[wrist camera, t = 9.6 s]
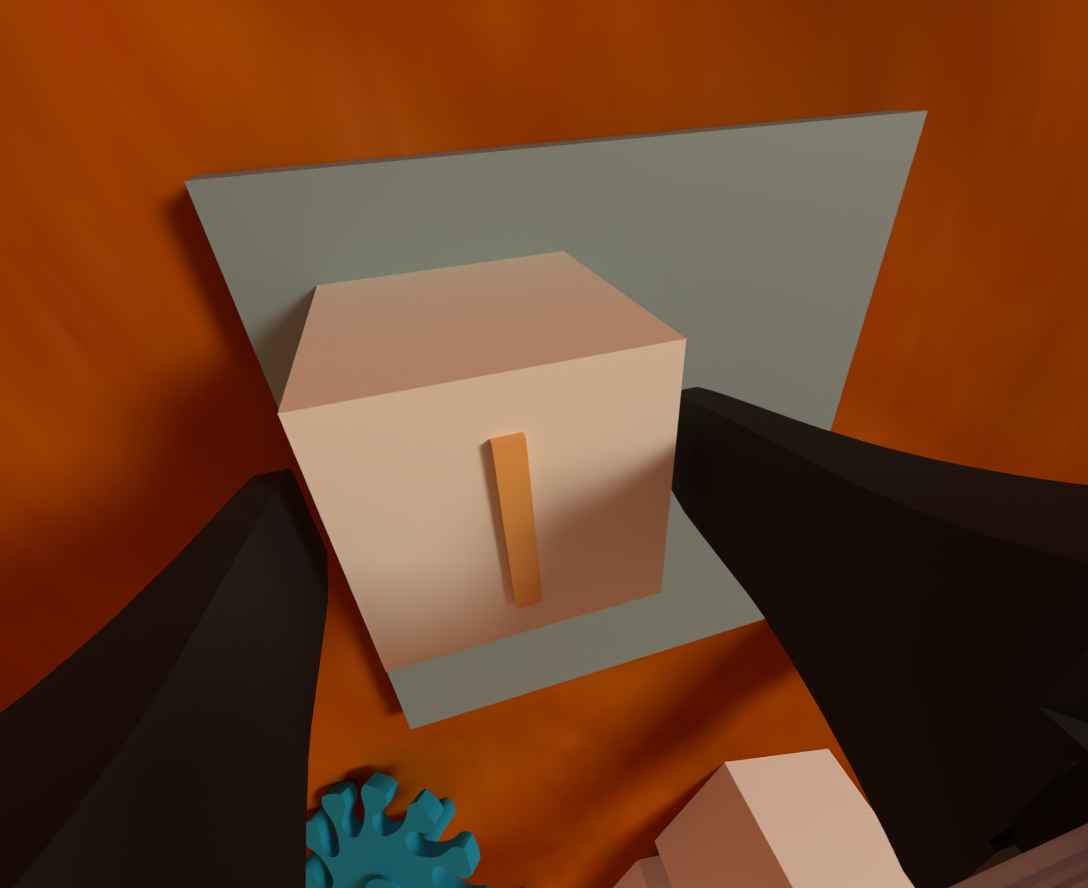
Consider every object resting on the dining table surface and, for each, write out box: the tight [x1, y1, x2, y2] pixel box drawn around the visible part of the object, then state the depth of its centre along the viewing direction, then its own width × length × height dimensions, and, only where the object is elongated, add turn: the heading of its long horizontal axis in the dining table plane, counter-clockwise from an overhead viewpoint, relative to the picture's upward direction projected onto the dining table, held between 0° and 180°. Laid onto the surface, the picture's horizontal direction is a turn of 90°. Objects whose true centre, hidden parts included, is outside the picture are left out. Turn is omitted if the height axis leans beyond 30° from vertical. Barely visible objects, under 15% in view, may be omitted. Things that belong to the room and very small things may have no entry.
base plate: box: [184, 111, 927, 729], centre depth 17 cm, size 17×20×1 cm
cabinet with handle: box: [278, 251, 686, 672], centre depth 11 cm, size 6×6×6 cm
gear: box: [306, 772, 491, 888], centre depth 24 cm, size 11×6×10 cm
